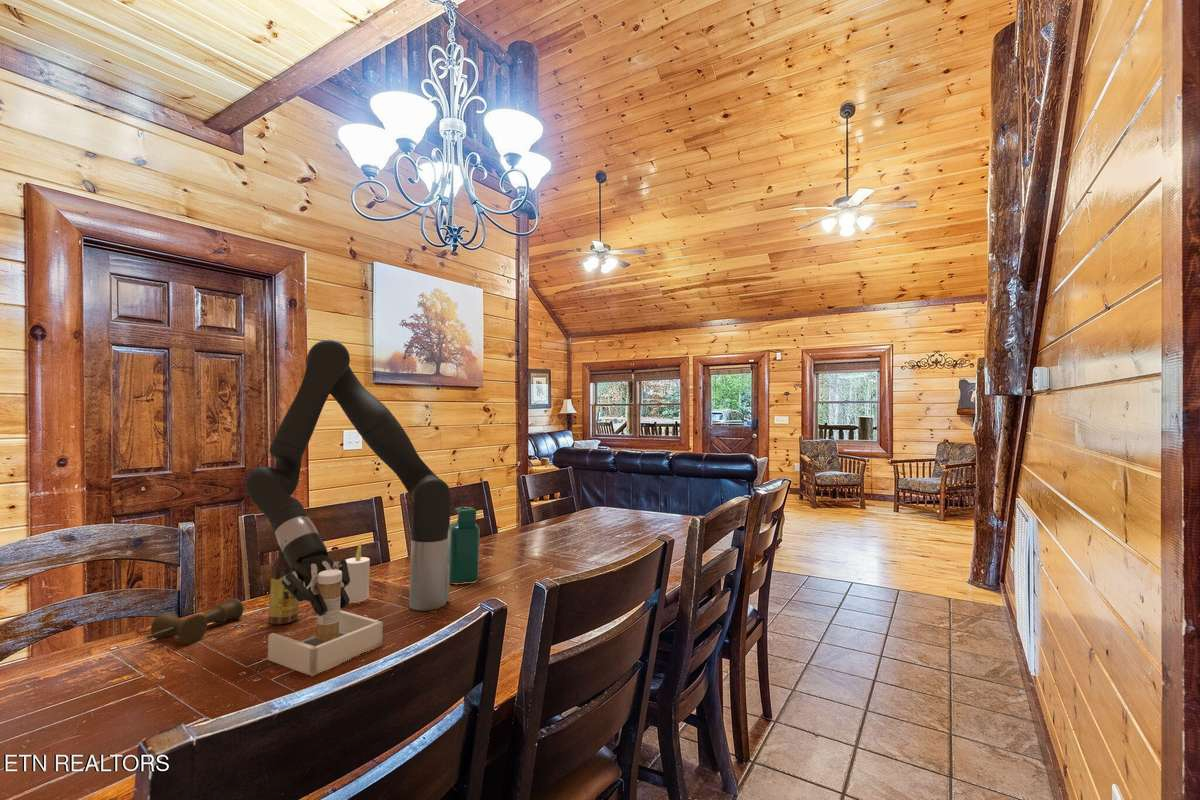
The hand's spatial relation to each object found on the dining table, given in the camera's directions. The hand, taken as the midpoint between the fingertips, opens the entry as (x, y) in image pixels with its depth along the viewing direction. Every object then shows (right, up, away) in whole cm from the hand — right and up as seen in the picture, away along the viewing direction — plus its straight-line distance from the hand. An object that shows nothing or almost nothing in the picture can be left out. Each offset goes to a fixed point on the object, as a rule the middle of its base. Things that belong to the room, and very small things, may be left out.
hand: (334, 609), depth 111 cm
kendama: (-36, -9, +9) cm, 38 cm away
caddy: (-2, -9, +1) cm, 10 cm away
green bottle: (+14, -11, +50) cm, 53 cm away
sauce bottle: (-21, -10, +17) cm, 29 cm away
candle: (-10, -10, +32) cm, 35 cm away
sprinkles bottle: (-2, -6, +1) cm, 7 cm away
